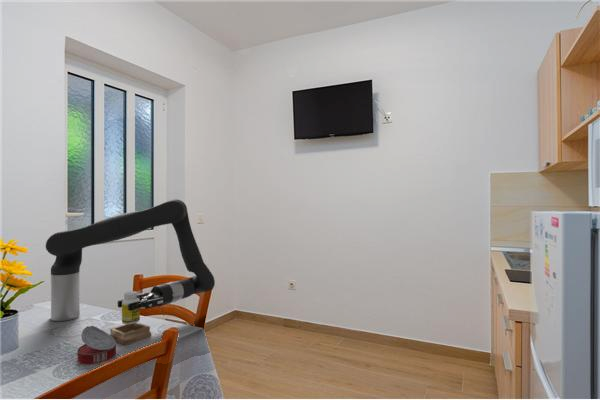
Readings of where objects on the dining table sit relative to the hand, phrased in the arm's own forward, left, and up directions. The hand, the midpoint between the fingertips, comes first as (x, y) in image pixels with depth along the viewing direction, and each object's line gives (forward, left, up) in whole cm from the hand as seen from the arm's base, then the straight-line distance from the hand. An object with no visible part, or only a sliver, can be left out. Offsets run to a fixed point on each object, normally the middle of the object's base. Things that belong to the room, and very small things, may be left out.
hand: (123, 306), depth 116 cm
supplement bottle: (0, +3, -6) cm, 7 cm away
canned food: (+5, -11, -12) cm, 17 cm away
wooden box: (0, +2, -11) cm, 11 cm away
